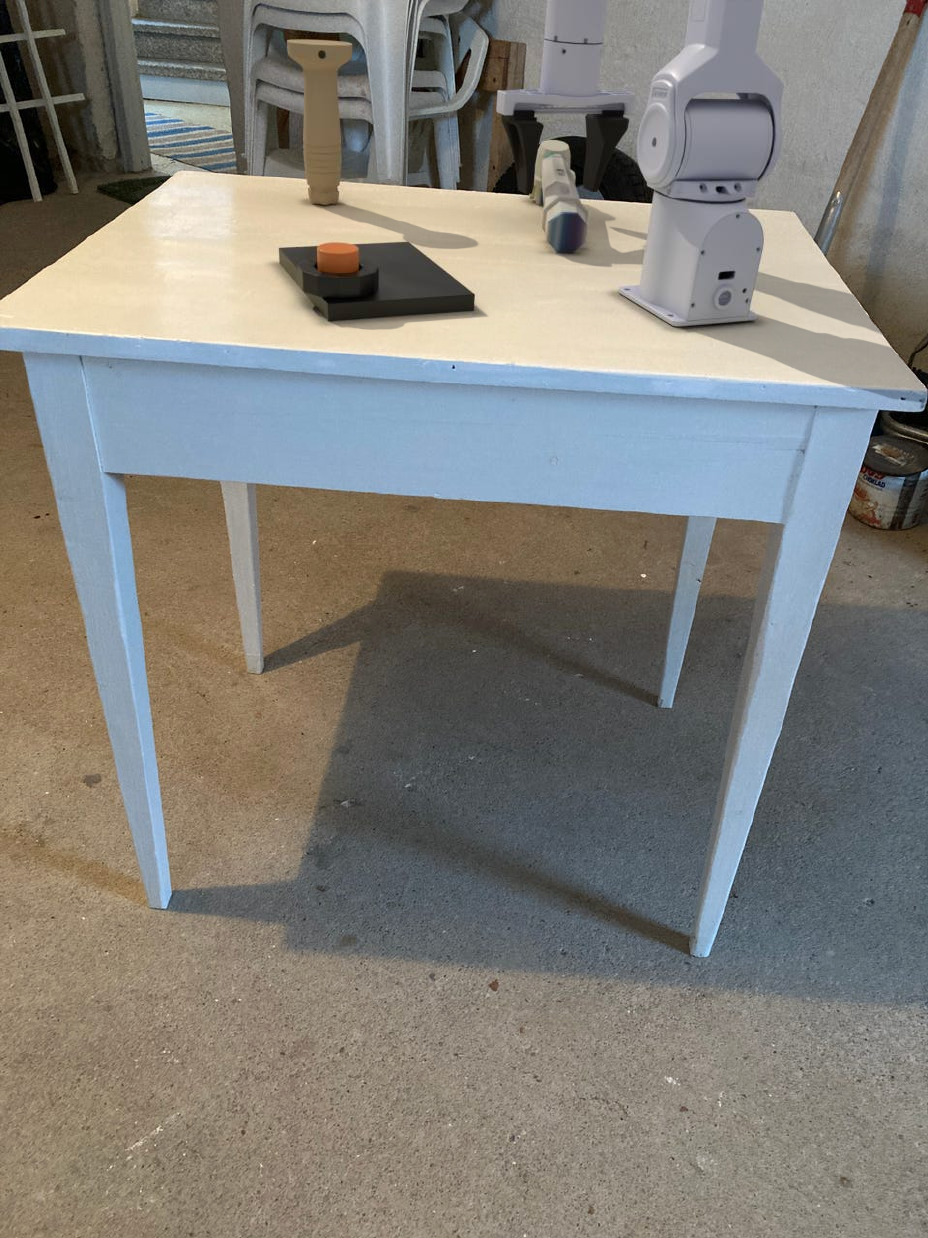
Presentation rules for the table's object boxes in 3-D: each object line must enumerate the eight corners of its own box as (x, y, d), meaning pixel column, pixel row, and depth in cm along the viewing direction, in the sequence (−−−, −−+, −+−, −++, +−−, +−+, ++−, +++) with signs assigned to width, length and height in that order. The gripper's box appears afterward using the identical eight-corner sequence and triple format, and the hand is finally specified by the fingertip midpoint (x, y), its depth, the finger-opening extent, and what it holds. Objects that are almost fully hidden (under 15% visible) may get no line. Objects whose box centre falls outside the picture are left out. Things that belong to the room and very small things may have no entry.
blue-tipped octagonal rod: (541, 208, 92) (531, 124, 110) (534, 277, 97) (525, 186, 115) (597, 211, 92) (577, 127, 111) (587, 280, 97) (570, 188, 115)
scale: (474, 311, 79) (476, 273, 77) (314, 323, 74) (313, 283, 73) (408, 257, 91) (408, 222, 89) (267, 264, 86) (265, 228, 85)
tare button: (364, 275, 76) (364, 251, 75) (323, 277, 75) (323, 254, 74) (352, 263, 79) (352, 241, 78) (313, 265, 78) (312, 242, 77)
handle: (292, 196, 108) (285, 38, 99) (351, 197, 109) (349, 40, 100) (295, 207, 104) (288, 43, 95) (356, 207, 105) (354, 46, 97)
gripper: (618, 38, 101) (600, 180, 109) (488, 34, 96) (479, 183, 104) (654, 46, 95) (632, 195, 103) (518, 42, 91) (506, 199, 98)
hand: (558, 190), depth 103 cm, fingers open, 7 cm apart
